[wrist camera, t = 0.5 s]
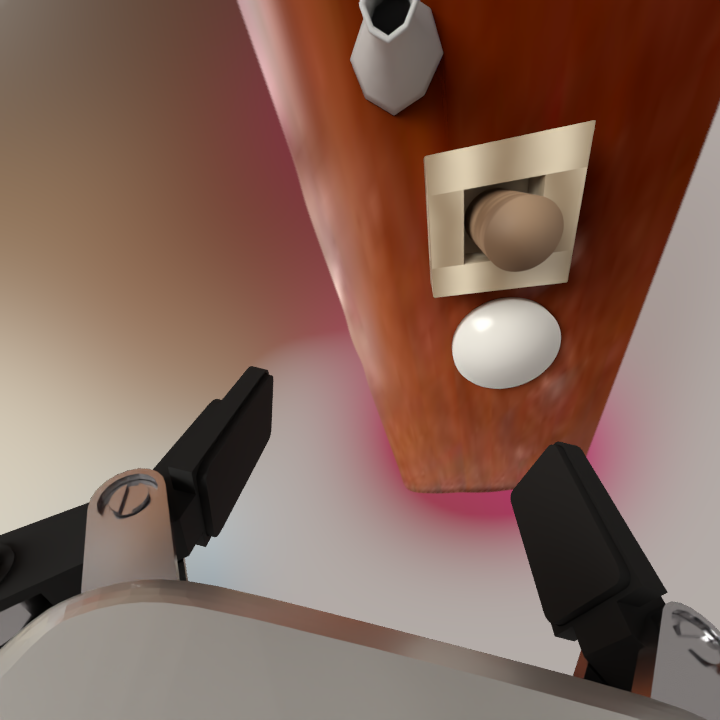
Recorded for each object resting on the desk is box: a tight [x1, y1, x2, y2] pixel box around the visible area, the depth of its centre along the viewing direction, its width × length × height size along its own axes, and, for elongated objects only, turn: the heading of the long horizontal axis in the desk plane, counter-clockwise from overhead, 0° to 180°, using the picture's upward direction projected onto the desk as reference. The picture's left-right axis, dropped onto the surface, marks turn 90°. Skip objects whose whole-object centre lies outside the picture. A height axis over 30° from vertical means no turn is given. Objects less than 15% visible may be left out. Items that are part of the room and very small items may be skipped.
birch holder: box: [424, 120, 596, 298], centre depth 28 cm, size 12×12×5 cm
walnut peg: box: [464, 188, 564, 272], centre depth 25 cm, size 5×5×10 cm
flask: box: [350, 0, 443, 115], centre depth 21 cm, size 7×7×10 cm
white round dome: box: [452, 297, 561, 389], centre depth 37 cm, size 12×12×1 cm
